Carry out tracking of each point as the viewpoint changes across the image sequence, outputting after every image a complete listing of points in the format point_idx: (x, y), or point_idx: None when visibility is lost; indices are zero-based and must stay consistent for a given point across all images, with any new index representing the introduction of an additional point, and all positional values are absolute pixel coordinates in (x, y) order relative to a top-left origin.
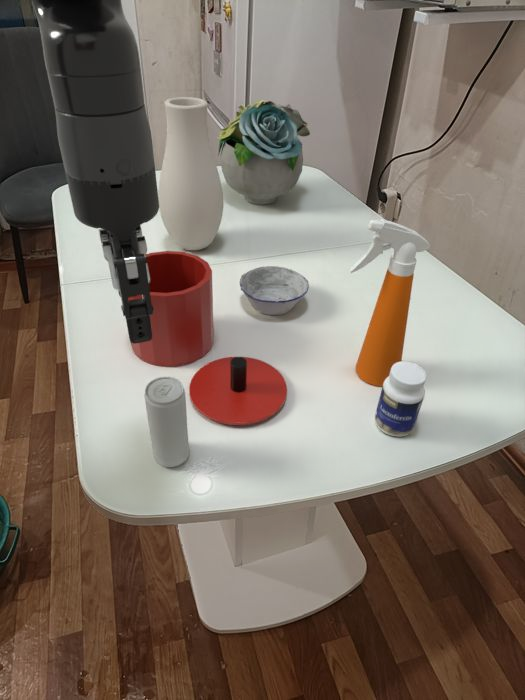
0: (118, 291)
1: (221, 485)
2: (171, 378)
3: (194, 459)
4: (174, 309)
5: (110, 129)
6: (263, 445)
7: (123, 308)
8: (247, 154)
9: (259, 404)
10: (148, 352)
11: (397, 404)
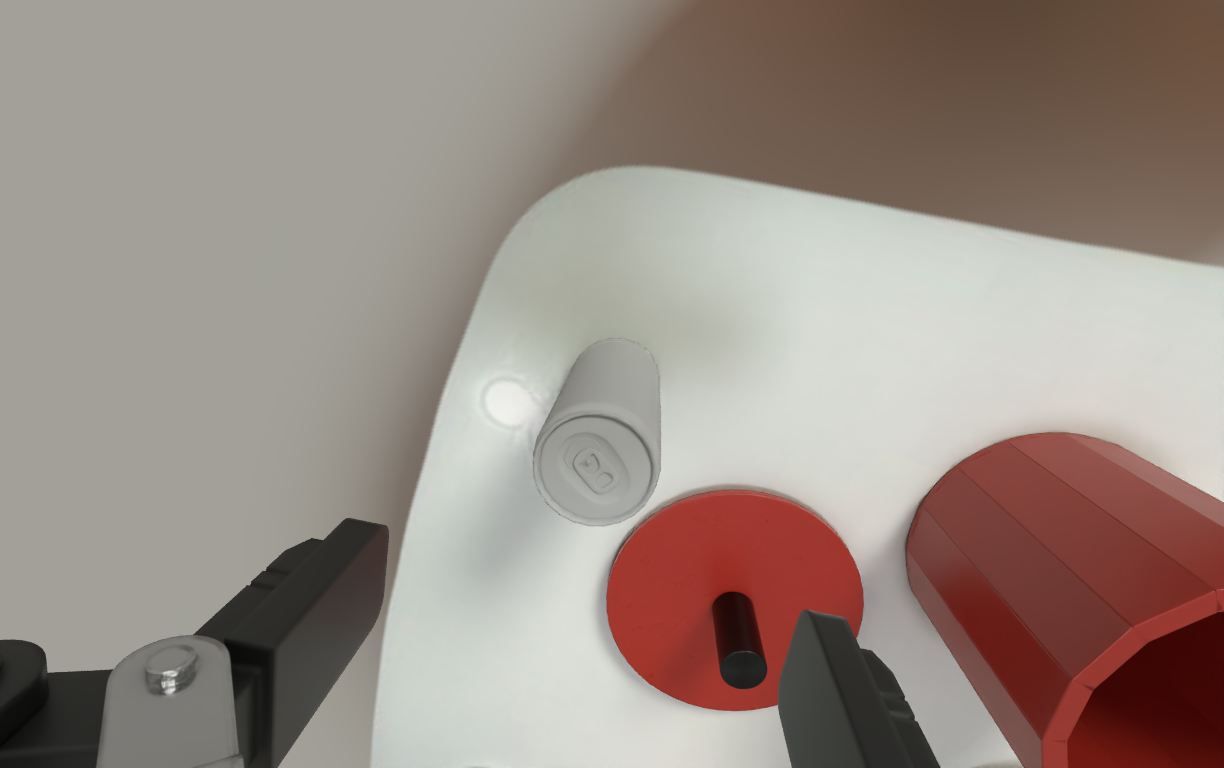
0: (822, 629)
1: (487, 439)
2: (636, 508)
3: None
4: (1020, 655)
5: None
6: (548, 563)
7: (112, 677)
8: None
9: (651, 620)
10: (995, 472)
11: None
